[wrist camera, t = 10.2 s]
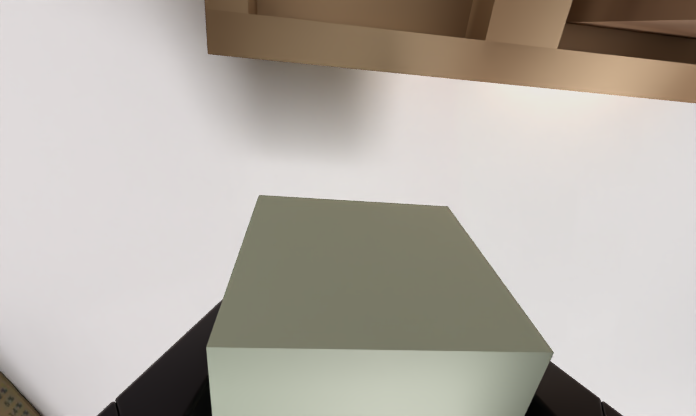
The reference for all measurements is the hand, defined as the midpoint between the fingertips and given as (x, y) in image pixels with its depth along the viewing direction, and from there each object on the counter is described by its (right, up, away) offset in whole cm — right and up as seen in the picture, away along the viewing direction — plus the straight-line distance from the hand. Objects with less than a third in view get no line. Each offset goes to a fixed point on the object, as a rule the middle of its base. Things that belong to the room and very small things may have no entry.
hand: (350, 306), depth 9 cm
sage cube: (0, +1, +1) cm, 1 cm away
